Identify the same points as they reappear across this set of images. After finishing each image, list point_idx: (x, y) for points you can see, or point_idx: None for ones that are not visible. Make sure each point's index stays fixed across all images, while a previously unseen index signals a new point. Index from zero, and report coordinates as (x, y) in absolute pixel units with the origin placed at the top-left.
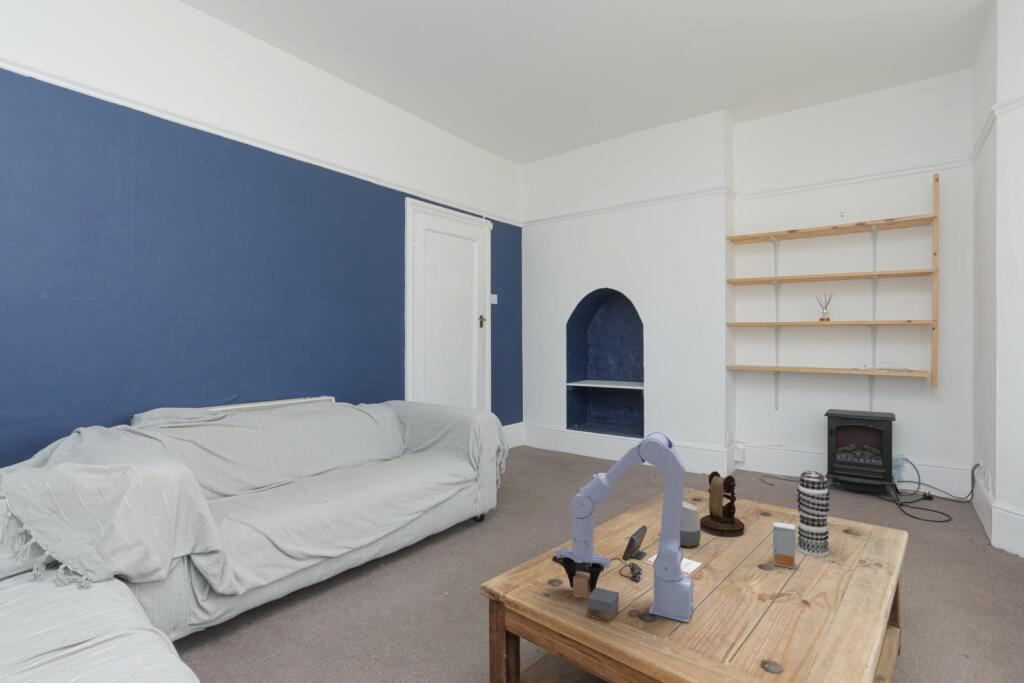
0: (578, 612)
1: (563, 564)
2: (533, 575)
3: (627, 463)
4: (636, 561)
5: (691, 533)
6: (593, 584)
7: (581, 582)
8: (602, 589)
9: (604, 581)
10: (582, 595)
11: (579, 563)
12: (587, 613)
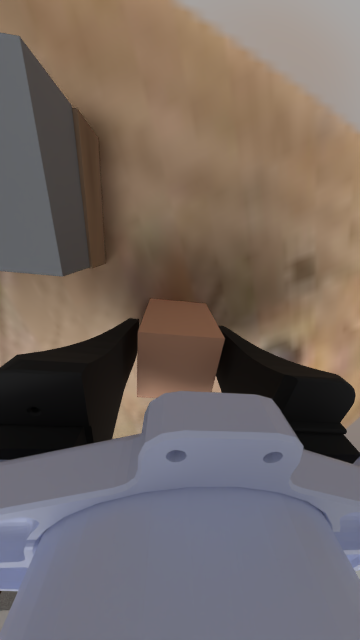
0: (149, 162)
1: (339, 377)
2: (347, 374)
3: None
4: None
5: (2, 604)
6: (111, 329)
7: (174, 325)
8: (9, 263)
9: (136, 410)
10: (169, 302)
11: None
12: (91, 130)
